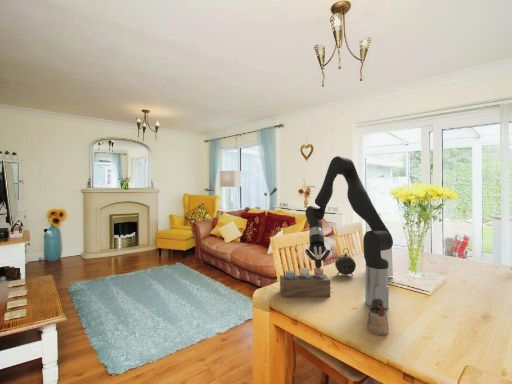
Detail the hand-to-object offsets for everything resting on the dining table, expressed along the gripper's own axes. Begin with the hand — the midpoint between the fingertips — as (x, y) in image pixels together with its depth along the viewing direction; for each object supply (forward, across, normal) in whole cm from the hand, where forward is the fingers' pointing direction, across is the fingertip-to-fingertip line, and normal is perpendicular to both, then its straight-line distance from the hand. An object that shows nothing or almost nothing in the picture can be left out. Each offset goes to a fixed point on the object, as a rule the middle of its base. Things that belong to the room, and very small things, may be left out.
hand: (318, 267), depth 132 cm
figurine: (+32, +18, -13) cm, 39 cm away
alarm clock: (-10, +18, +29) cm, 35 cm away
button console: (+10, -7, +8) cm, 15 cm away
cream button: (+3, -7, +1) cm, 8 cm away
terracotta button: (+2, 0, +2) cm, 3 cm away
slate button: (+5, -14, +1) cm, 15 cm away
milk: (-15, +39, +34) cm, 54 cm away
